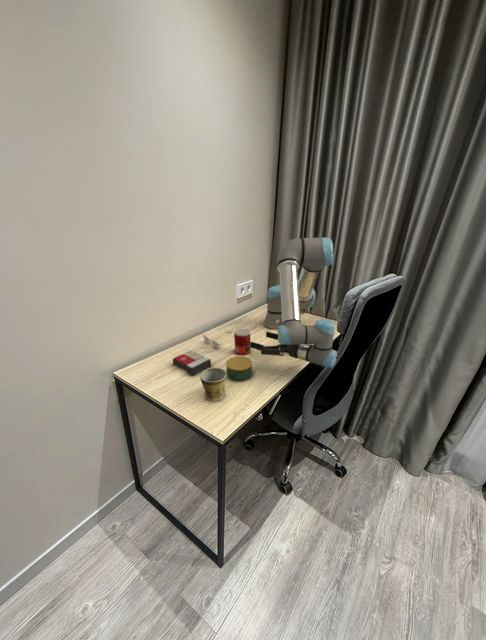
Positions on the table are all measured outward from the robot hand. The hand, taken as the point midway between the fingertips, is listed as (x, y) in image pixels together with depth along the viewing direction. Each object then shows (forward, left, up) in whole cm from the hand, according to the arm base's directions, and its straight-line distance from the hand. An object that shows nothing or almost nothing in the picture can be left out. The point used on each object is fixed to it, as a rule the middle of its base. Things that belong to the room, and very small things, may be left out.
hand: (258, 339), depth 133 cm
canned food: (0, -10, -10) cm, 14 cm away
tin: (+18, +1, -9) cm, 20 cm away
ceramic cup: (+35, +1, -10) cm, 36 cm away
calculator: (+24, -22, -10) cm, 34 cm away
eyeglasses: (-5, -26, -10) cm, 28 cm away
